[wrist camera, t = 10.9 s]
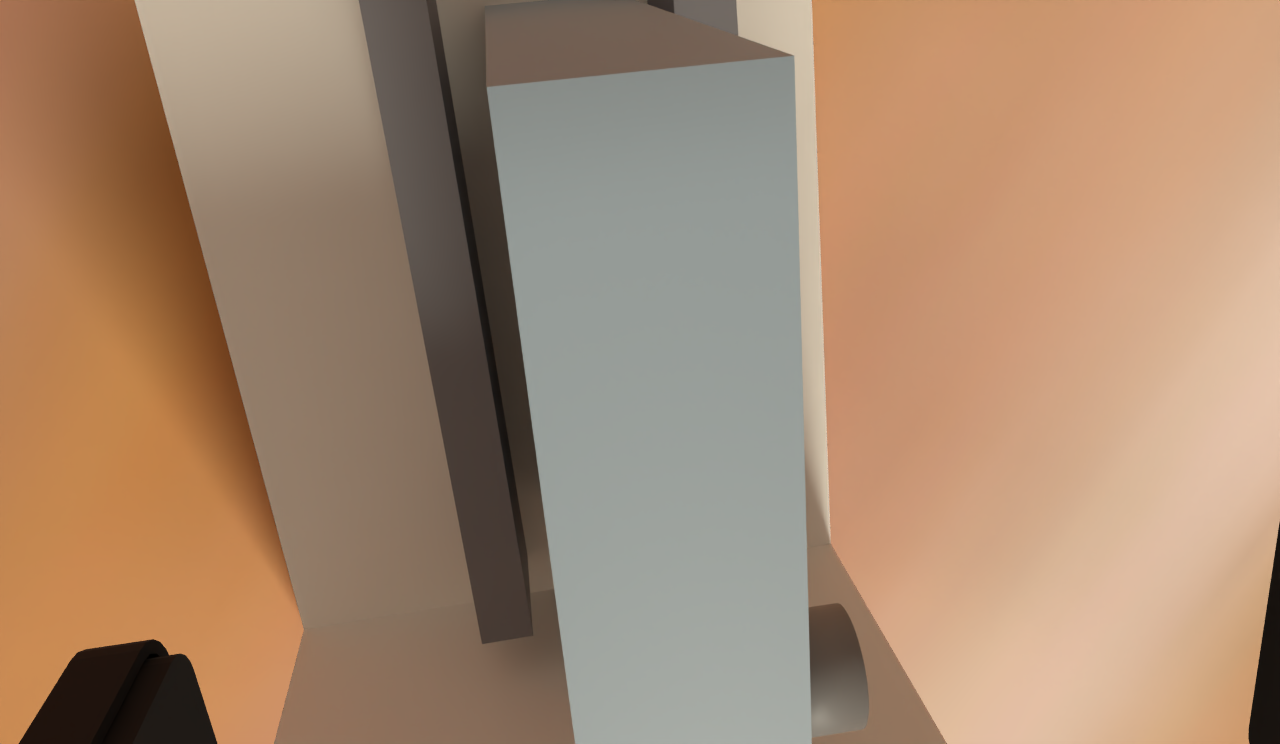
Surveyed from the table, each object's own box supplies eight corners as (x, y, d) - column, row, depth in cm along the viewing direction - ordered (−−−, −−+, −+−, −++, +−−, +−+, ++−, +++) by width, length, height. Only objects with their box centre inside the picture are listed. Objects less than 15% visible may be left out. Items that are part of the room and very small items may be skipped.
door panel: (680, -13, 19) (942, 40, 8) (711, 468, 23) (918, 942, 12) (484, 5, 19) (485, 87, 8) (549, 491, 23) (609, 999, 12)
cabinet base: (789, -273, 19) (1304, -645, 7) (822, 579, 26) (1109, 1114, 14) (93, -210, 18) (-681, -519, 6) (323, 662, 25) (177, 1316, 13)
